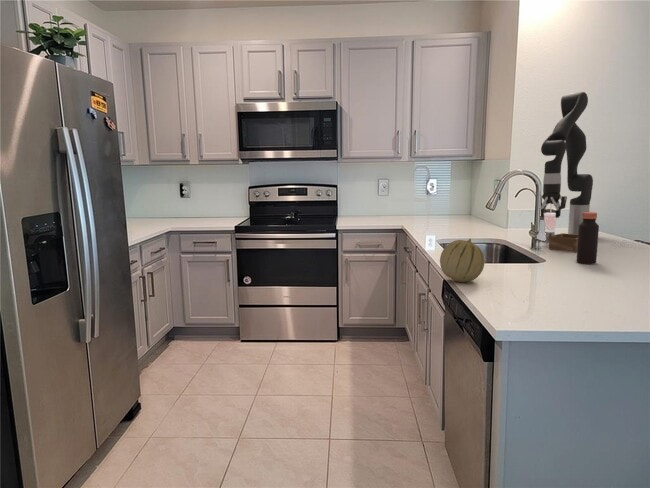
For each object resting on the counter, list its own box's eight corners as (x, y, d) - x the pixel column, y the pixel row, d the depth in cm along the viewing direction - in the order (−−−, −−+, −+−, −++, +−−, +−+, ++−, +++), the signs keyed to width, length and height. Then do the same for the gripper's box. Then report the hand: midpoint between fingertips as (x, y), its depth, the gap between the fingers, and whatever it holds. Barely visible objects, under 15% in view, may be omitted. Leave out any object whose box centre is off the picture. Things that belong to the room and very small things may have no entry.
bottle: (579, 260, 177) (582, 211, 174) (598, 262, 173) (602, 212, 169) (574, 263, 173) (577, 213, 169) (593, 265, 168) (597, 214, 164)
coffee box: (536, 238, 230) (538, 208, 227) (549, 238, 229) (551, 208, 226) (541, 241, 221) (543, 210, 219) (554, 241, 220) (556, 210, 217)
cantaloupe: (430, 280, 154) (431, 238, 151) (460, 274, 161) (461, 234, 158) (462, 289, 141) (463, 244, 138) (493, 282, 148) (494, 239, 145)
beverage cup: (541, 230, 217) (543, 202, 214) (555, 230, 215) (556, 202, 212) (544, 232, 211) (545, 203, 208) (558, 232, 209) (559, 203, 207)
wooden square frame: (561, 245, 210) (562, 233, 209) (588, 248, 200) (588, 235, 199) (548, 248, 203) (549, 236, 202) (575, 252, 193) (575, 238, 192)
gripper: (571, 182, 205) (569, 217, 208) (541, 182, 217) (540, 215, 220) (563, 183, 201) (561, 219, 204) (533, 183, 212) (532, 216, 215)
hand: (550, 217), depth 212 cm, fingers closed on beverage cup, 6 cm apart
